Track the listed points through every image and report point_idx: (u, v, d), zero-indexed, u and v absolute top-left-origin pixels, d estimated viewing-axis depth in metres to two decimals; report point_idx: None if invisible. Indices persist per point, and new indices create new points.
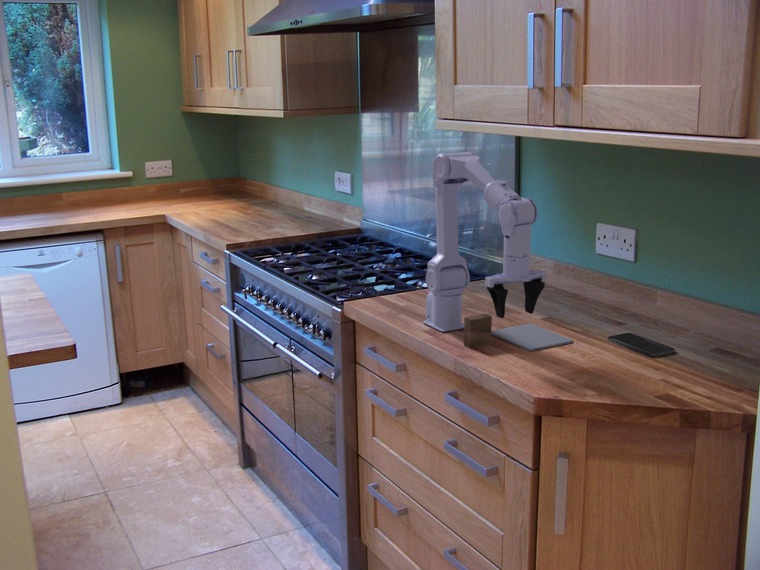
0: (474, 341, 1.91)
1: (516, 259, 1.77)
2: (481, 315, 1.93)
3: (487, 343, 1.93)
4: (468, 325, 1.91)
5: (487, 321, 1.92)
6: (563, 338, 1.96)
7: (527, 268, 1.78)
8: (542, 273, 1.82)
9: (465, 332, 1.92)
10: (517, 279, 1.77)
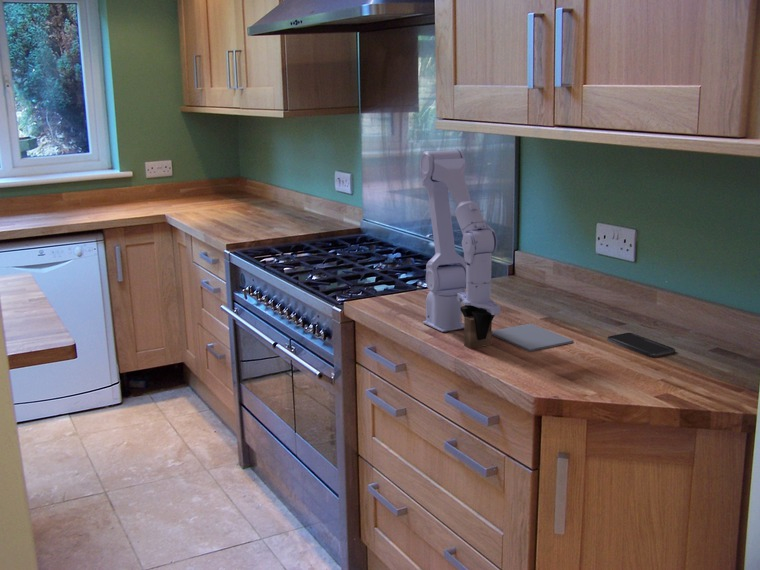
0: (474, 341, 1.91)
1: (466, 282, 1.90)
2: None
3: (487, 343, 1.93)
4: (468, 325, 1.91)
5: None
6: (563, 338, 1.96)
7: (472, 294, 1.88)
8: (490, 307, 1.85)
9: (465, 332, 1.92)
10: None
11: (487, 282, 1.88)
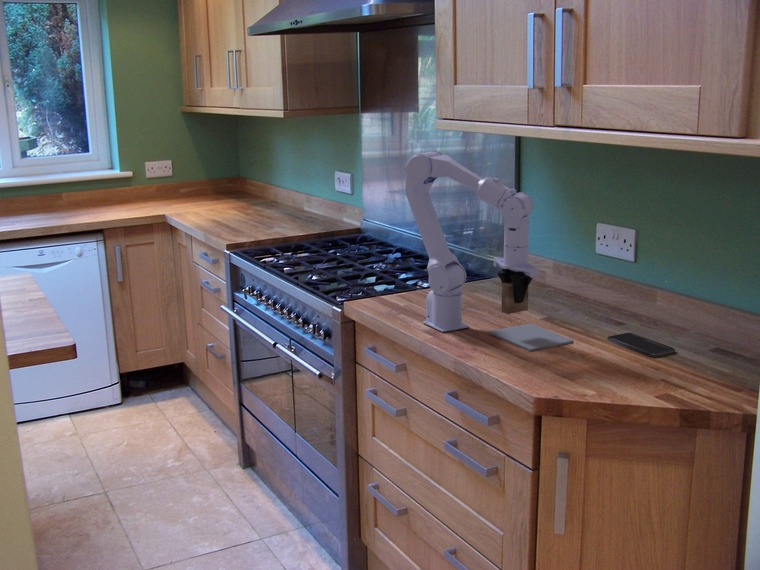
0: (512, 306, 1.96)
1: (504, 247, 1.94)
2: None
3: (524, 309, 1.98)
4: (506, 291, 1.95)
5: None
6: (563, 338, 1.96)
7: (510, 258, 1.92)
8: (529, 270, 1.89)
9: (503, 298, 1.96)
10: None
11: (525, 246, 1.92)
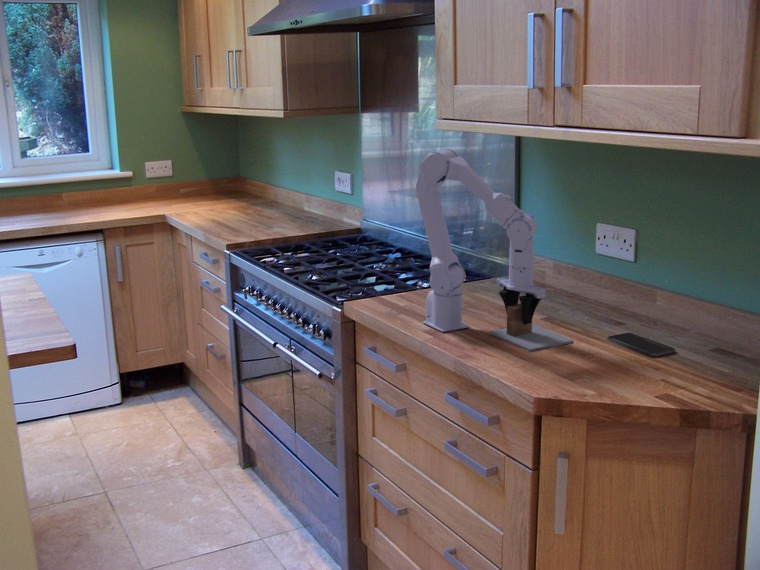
0: (517, 329, 1.98)
1: (509, 268, 1.96)
2: None
3: (528, 331, 2.00)
4: (512, 314, 1.97)
5: None
6: (563, 338, 1.96)
7: (516, 279, 1.95)
8: (536, 291, 1.92)
9: (508, 321, 1.98)
10: (507, 286, 1.97)
11: (530, 267, 1.94)
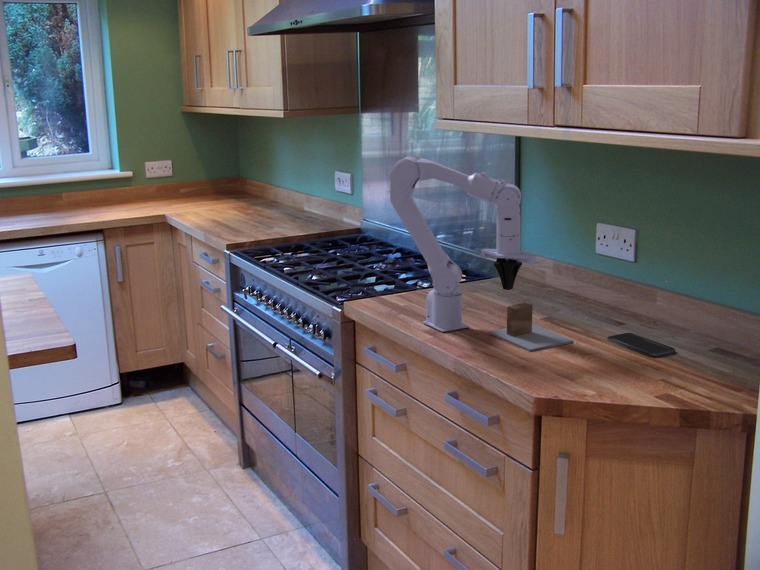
0: (517, 329, 1.98)
1: (497, 237, 1.99)
2: (522, 304, 2.00)
3: (528, 331, 2.00)
4: (512, 314, 1.97)
5: (529, 309, 1.99)
6: (563, 338, 1.96)
7: (506, 247, 1.97)
8: (527, 257, 1.96)
9: (508, 321, 1.98)
10: (496, 255, 1.99)
11: (519, 234, 1.98)
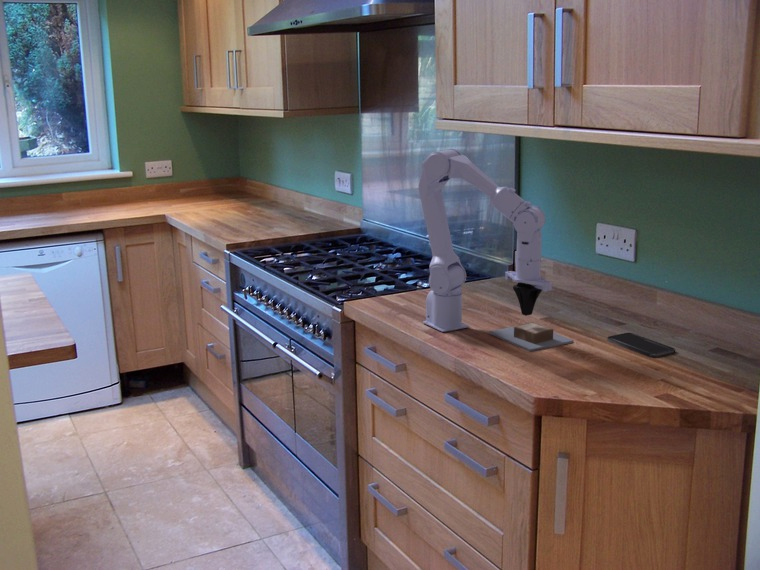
0: None
1: (516, 260, 1.94)
2: (548, 334, 1.94)
3: None
4: (530, 339, 1.93)
5: None
6: (563, 338, 1.96)
7: (522, 272, 1.92)
8: (542, 284, 1.89)
9: (524, 332, 1.95)
10: None
11: (538, 259, 1.91)
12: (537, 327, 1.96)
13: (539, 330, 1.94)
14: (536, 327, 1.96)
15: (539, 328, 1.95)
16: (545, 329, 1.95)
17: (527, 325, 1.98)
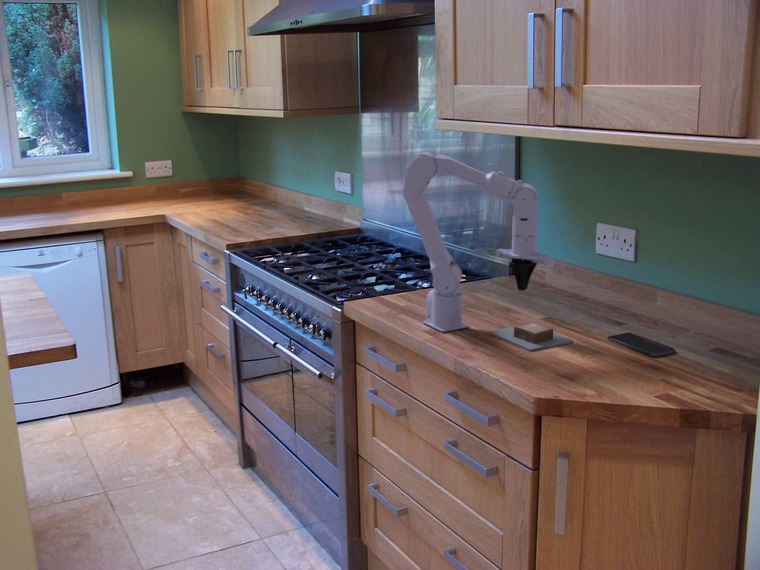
0: None
1: (513, 237, 1.98)
2: (548, 334, 1.94)
3: None
4: (530, 339, 1.93)
5: None
6: (563, 338, 1.96)
7: (522, 248, 1.97)
8: (543, 258, 1.95)
9: (524, 332, 1.95)
10: (512, 255, 1.99)
11: (535, 235, 1.97)
12: (537, 327, 1.96)
13: (539, 330, 1.94)
14: (536, 327, 1.96)
15: (539, 328, 1.95)
16: (545, 329, 1.95)
17: (527, 325, 1.98)
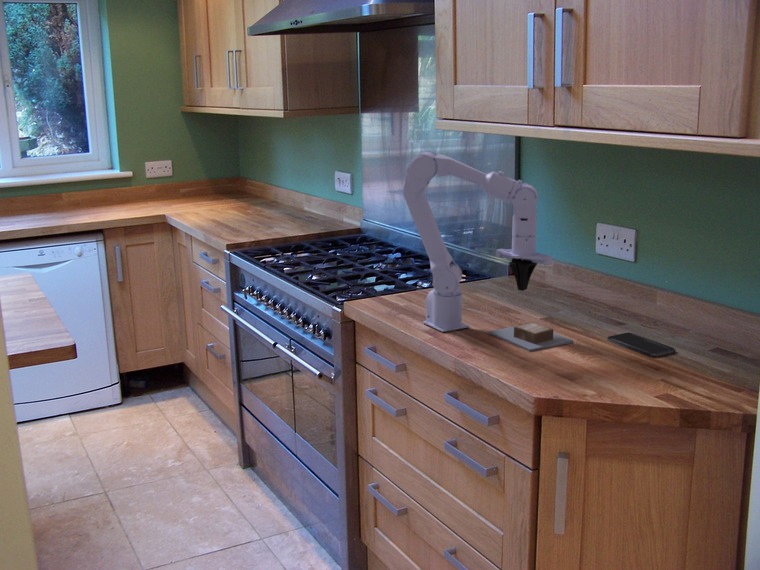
0: None
1: (513, 237, 1.98)
2: (548, 334, 1.94)
3: None
4: (530, 339, 1.93)
5: None
6: (563, 338, 1.96)
7: (522, 248, 1.97)
8: (543, 258, 1.95)
9: (524, 332, 1.95)
10: (512, 255, 1.99)
11: (535, 235, 1.97)
12: (537, 327, 1.96)
13: (539, 330, 1.94)
14: (536, 327, 1.96)
15: (539, 328, 1.95)
16: (545, 329, 1.95)
17: (527, 325, 1.98)
